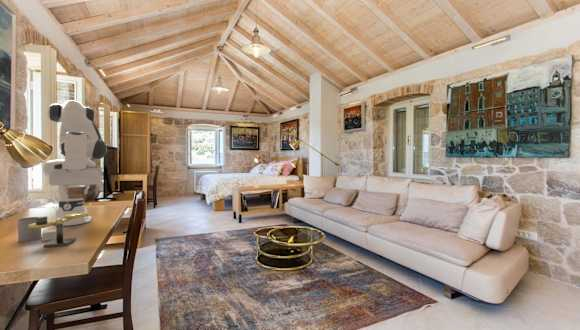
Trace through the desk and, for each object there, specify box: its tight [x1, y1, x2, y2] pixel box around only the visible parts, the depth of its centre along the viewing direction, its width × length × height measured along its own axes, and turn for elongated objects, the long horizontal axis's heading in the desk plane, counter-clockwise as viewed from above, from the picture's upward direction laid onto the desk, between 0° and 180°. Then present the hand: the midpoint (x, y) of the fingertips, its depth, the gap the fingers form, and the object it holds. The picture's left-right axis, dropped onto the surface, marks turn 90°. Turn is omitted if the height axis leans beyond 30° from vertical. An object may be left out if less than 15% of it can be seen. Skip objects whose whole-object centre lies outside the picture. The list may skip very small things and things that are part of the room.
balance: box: [28, 212, 90, 249], centre depth 130 cm, size 9×22×14 cm, turn 110°
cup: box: [17, 216, 42, 242], centre depth 138 cm, size 8×8×10 cm
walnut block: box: [68, 186, 86, 199], centre depth 132 cm, size 5×5×5 cm
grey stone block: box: [41, 228, 57, 242], centre depth 138 cm, size 5×5×4 cm
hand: (76, 194), depth 132 cm, fingers closed on walnut block, 5 cm apart
